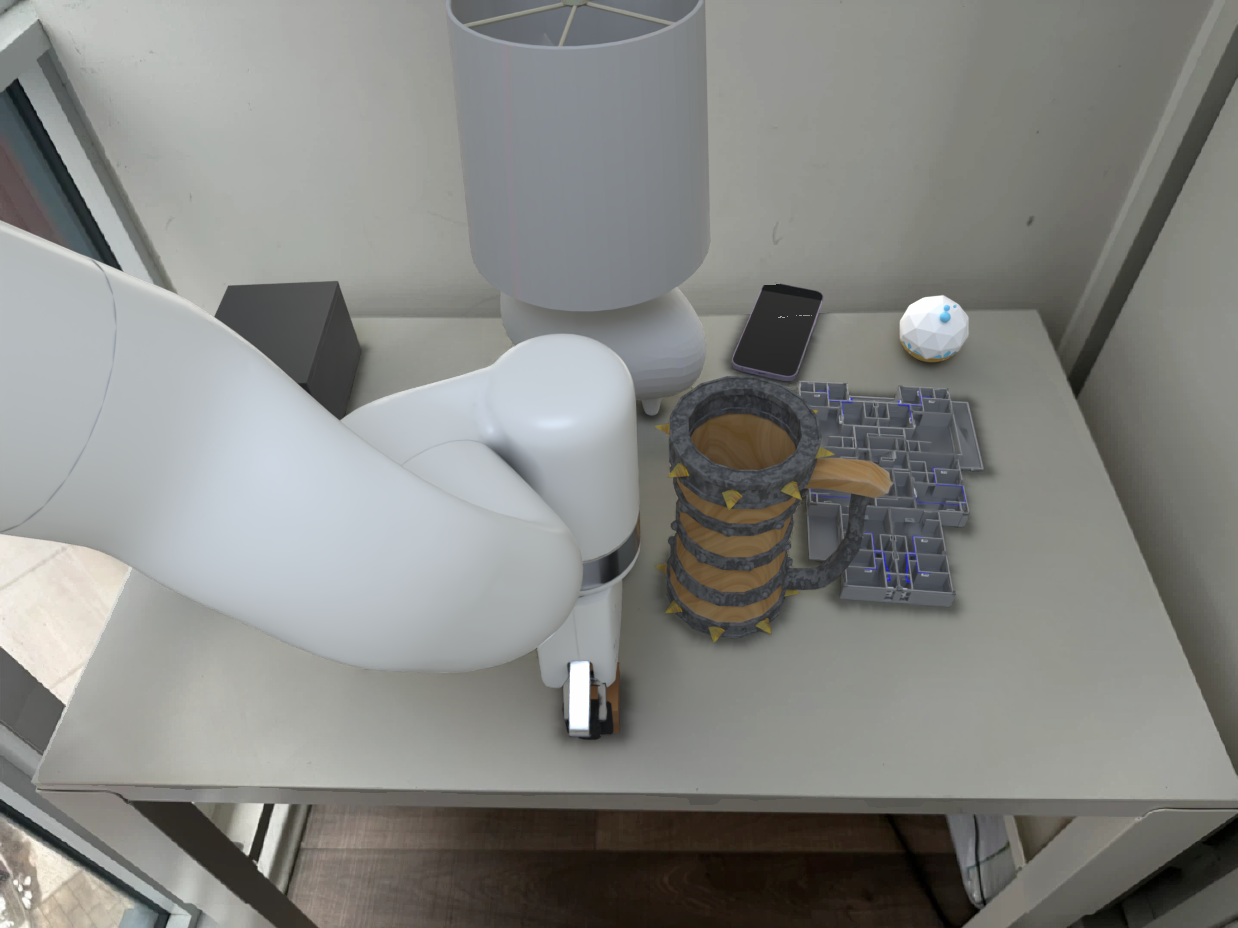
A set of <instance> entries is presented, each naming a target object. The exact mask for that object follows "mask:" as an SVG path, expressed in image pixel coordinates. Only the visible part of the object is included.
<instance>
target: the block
mask: <svg viewBox="0 0 1238 928" xmlns="http://www.w3.org/2000/svg"><path fill="white" fill-rule="evenodd" d="M591 670H593V664H592V663H591ZM620 670H621V669H620V662H619V661H617V670H616V679H615V681H614V682H613V683H612V684H611V685H610V686H609V687H607V701H609V702H610V703H611V705H612V714H613V724H614V732H613V734H620V730H621V728H620V727H621V721H620V720H621V689H622V687H621V686H622V685H621V671H620ZM591 699H598V686H591Z"/></svg>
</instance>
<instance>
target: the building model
mask: <svg viewBox="0 0 1238 928" xmlns="http://www.w3.org/2000/svg"><path fill="white" fill-rule="evenodd" d="M796 393H797V394H798V395H800V396H801V397H803V398H804V399H805V400H806V401H807V403H808V404H809V406H810V407H811V408H812V410H818V412H817V413H816V415H817V416H818V418H819V424H820V431H821V437H822V441H821V445H820V447H822V448H824V449H826V450H828V451H830V452H832V453H833V454H835V455H832V456H827V457H821V458H845V459H856V460H866V461H872V462H873V463H875V464H876V465H878V466H880V467H881V468H883V469H885V470H886V471H888V472H889V474H890V480H891V482H892V483H893V484H892V486H891V487H890V489H889V492H888V494H885V495H882V496H880V497H877V498H871V497H869V500H868V503H867V507H866V512H865V519H864V534H863V538H862V542H861V546H860V549H859V552H858V553H857V555H856V556H855V557H854V559H853V560H852V562H851V563H850V565H849V566H848V568H847V569H846V570H845V571H843V572H842V573H841V574H840V575H839V577H840V586H841V587H840V589H841V590H840V593H839V599H840V600H854V601H864V602H865V601H866V602H878V603H879V602H881V603H893V604H906V605H919V606H920V605H921V606H934V607H947V608H950V607H951V606H952V605H953V602H954V601H955V600H954V599H955V598H956V595H957V592H956V590H954V587H953V583H952V581H953V580H952V576H951V569H950V565H949V560H948V554H947V553H948V552H947V549H946V543H945V537H944V532H943V526H949V527H957V528H965V526H966V524H967V522H968V519H969V517H970V514H971V513H970V508H969V504H968V499H967V495H966V494H967V493H966V489H965V484H964V479H963V475H962V470H963V471H964V470H965V471H966V470H967V471H970V472H974V471H981V472H982V471H985V470H984V464H983V460H982V456H981V455H982V454H981V452H980V451H981V450H980V447H979V442H978V439H977V433H976V430H975V426H974V421H973V417H972V412H971V409H970V404H969V401H960V400H959V401H956V400H952V399H951V394H950V390H949V388H947V387H930V386H929V387H928V386H926V387H925V386H910V385H909V386H908V385H898V386H897V389H896V392H895V395H894V397H882V396H881V397H879V396H864V395H862V396H861V395H850V393H849V383H848V382H830V381H814V380H813V381H812V380H811V381H810V380H798V383H797V388H796ZM817 459H818V458H817ZM808 489H809V492H808V495H807V496H805V509H806V527H807V547H808V561H815V562H824V561H825V560H826V559H827V558H828V557H829V556H830V555H831V554H832V553H833V552H834V551H835V550H836V549H837V547H838V546H839V544H840V543H841V542H842V540H843V539H844V537H845V535H846V531H847V526H848V520H849V504H850V498H851V493H846V492H841V491H835V490H828V489H813V488H808Z"/></svg>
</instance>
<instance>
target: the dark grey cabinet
mask: <svg viewBox="0 0 1238 928" xmlns="http://www.w3.org/2000/svg"><path fill="white" fill-rule="evenodd" d="M213 317H215V318H216V319H218V320H219V321H221V322H222V323H224V324H225V325H226V326H228V327H229V328H231V329H232V330H234V331H235V332H236V333H237V334H239V335H240V336H241V337H243V338H244V339H245V340H247V341H248V342H249V343H251V344H252V345H253V346H255V347H256V348H257V349H258V350H259V351H261V352H262V353H263V354H264V355H265V356H267V357H268V358H269V359H270V360H271V361H272V362H274V363H275V364H276V365H277V366H278V367H279V368H280V369H281V370H283V371H284V372H285V373H286V374H287V375H288V376H289V377H290V378H292V379H293V380H294V381H295V382H296V383H297V384H298V385H299V386H301V387H302V388H303V389H304V390H305V391H306V392H307V393H308V394H310V395H311V396H312V397H313V398H314V399H315V400H316V401H317V402H319V403H320V404H321V405H322V406H323V407H324V408H325V409H326V410H328V411H329V412H330V413H331V414H332V415H334V416H335V417H336V418H337V419H338V420H341V419H343V418H344V417H345V416H346V411H347V407H348V404H349V401H350V397H351V392H352V389H353V384H354V380H355V376H356V373H357V369H358V365H359V362H360V357H361V353H362V348H361V347H362V346H361V344H360V342H359V339H358V336H357V333H356V330H355V327H354V324H353V320H352V318H351V315H350V313H349V309H348V307H347V304H346V301H345V298H344V295H343V292H342V288H341V285H340V283H339V280H327V281H306V282H305V281H304V282H303V281H301V282H299V281H298V282H279V283H278V282H277V283H259V284H258V283H255V284H254V283H252V284H234V285H231V284H230V285H227V287H226V290H225V291H224V294H223V296H222V298H221V300H220V303H219V305H218V307H217V309H216V312H215V314H214V316H213Z"/></svg>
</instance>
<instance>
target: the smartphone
mask: <svg viewBox="0 0 1238 928" xmlns="http://www.w3.org/2000/svg"><path fill="white" fill-rule="evenodd" d="M823 302H824V294H823V293H822V292H821V291H818V290H815V289H810V288H805V287H800V286H796V285H795V286H794V285H789V284H785V283H780V284H776V285H764V284H763V285H762V287H761V288H760V290H759V293H758V296H757V299H756V301H755V303H754V306H753V308H752V310H751V312H750V315H749V317H748V319H747V322H746V324H745V326H744V329H743V332H742V334H741V336H740V338H739V341H738V343H737V345H736V348H735V351H734V352H733V355H732V358H731V367H732V368H733V369H734V370H736V371H739V372H743V373H747V374H751V375H756V376H760V377H764V378H769V379H773V380H778V381H781V382H792V381H794V380H795V379H796V378H797V376H798V374H799V371H800V369H801V365H802V362H803V359H804V356H805V354H806V351H807V348H808V346H809V343H810V340H811V336H812V334H813V331H814V328H815V326H816V323H817V320H818V316H819V314H820V311H821V309H822V305H823ZM796 315H797V316H796ZM799 315H802V316H799ZM803 315H810V316H803ZM811 315H812V316H811ZM780 316H782V317H785V318H782V317H781V318H778V317H780ZM787 316H788V317H787Z"/></svg>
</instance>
